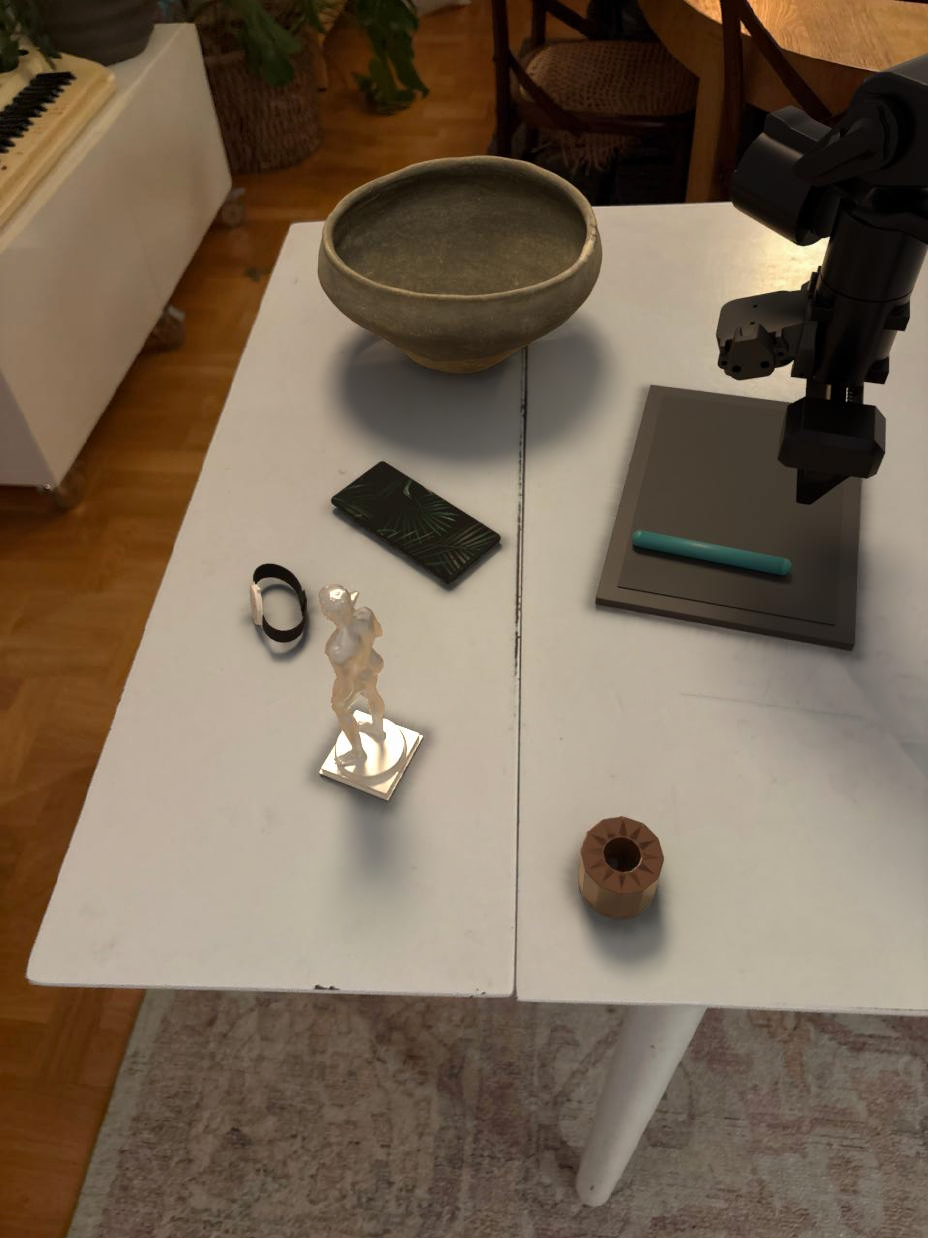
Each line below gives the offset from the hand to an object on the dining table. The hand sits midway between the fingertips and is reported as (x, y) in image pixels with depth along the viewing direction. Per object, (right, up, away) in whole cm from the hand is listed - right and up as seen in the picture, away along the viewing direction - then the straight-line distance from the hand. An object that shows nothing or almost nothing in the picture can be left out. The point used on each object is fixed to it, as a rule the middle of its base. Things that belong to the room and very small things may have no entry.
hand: (807, 460), depth 70 cm
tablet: (-2, -2, +11) cm, 11 cm away
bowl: (-26, +18, +28) cm, 42 cm away
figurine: (-33, -22, -2) cm, 39 cm away
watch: (-42, -12, +6) cm, 44 cm away
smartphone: (-31, -4, +11) cm, 33 cm away
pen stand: (-16, -29, -10) cm, 35 cm away
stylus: (0, -8, +4) cm, 9 cm away
